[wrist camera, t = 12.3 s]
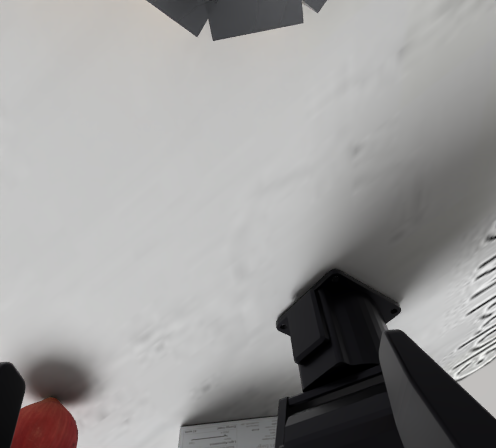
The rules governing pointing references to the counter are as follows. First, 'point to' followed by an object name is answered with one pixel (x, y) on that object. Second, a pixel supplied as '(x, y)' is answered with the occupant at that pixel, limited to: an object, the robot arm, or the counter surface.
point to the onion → (45, 426)
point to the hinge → (235, 14)
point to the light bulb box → (231, 434)
